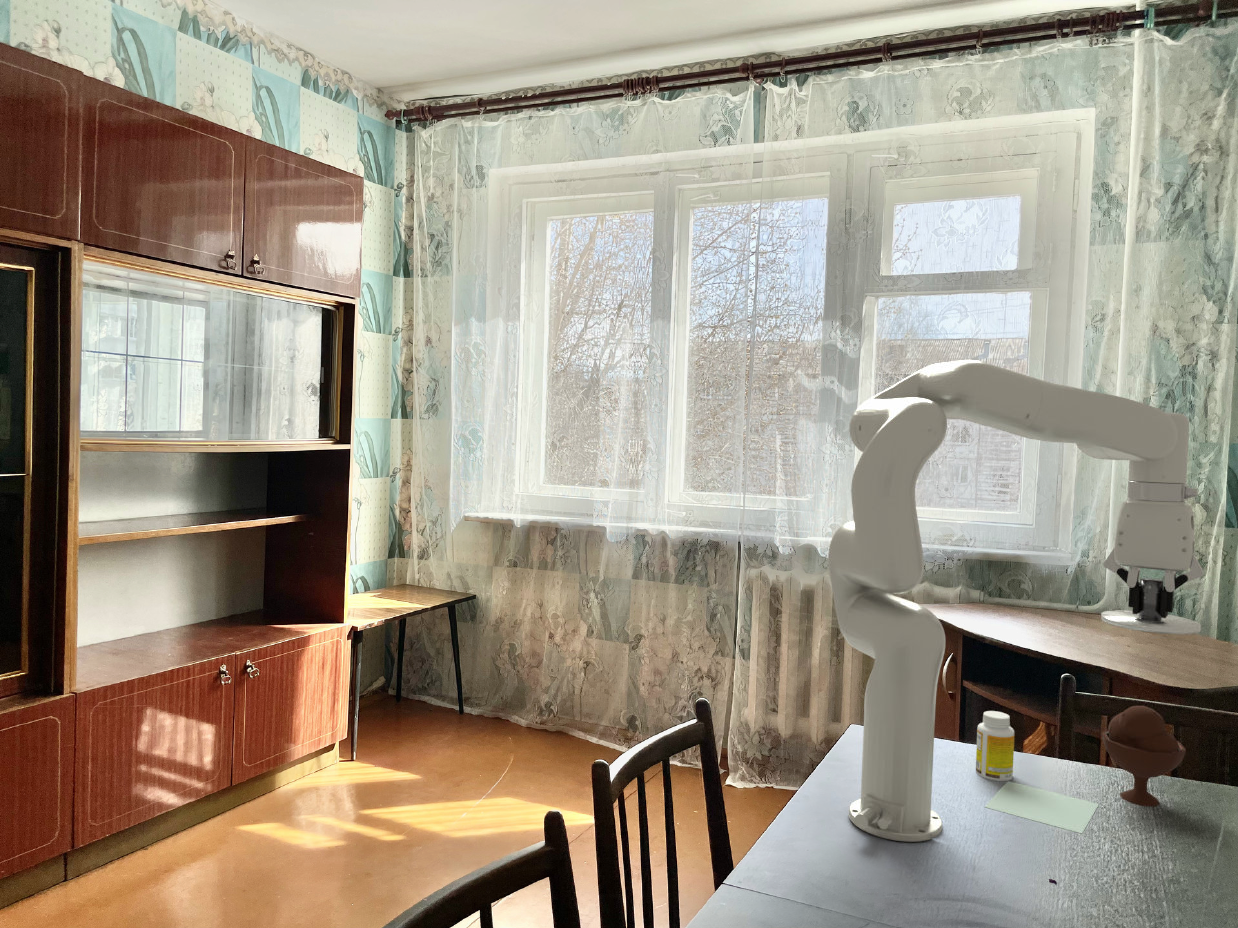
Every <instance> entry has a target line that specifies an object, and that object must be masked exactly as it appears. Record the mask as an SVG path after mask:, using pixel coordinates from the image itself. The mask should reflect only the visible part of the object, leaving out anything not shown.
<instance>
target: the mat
mask: <svg viewBox="0 0 1238 928" xmlns="http://www.w3.org/2000/svg"><path fill="white" fill-rule="evenodd" d="M1099 806H1100V804H1099V803H1097V802H1092V801H1089V800H1085V799H1081V798H1077V797H1072V796H1070V795H1069V796H1068V795H1065V794H1062V793H1057V792H1053V791H1049V790H1045V789H1041V788H1037V787H1033V786H1029V785H1025V784H1021V783H1017V782H1013V781H1010V780H1008V781H1005V783H1004V785H1003V786H1001V788H1000V789H999V790H998V791H997V792H996V793H995V795H993V796H992V797H991V799H990V800H989V801H988V802H987V803H986V804H985V805H984V808H985V809H990V810H992V811H997V812H1000V813H1003V814H1008V815H1012V816H1015V817H1020V818H1023V819H1025V820H1030V821H1034V822H1036V823H1041V824H1044V825H1048V826H1051V827H1055V828H1059V829H1061V830H1062V829H1063V830H1065V831H1066V830H1067V831H1070V832H1074V833H1077V834H1081V835H1082V834H1083V833H1084V832H1085V829H1086V828H1087V826H1088V824H1089V823H1090V821H1091V820H1092V817H1093V816H1094V813H1095V812H1096V810H1097V809H1098V807H1099Z"/></svg>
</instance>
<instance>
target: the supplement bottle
mask: <svg viewBox="0 0 1238 928" xmlns="http://www.w3.org/2000/svg"><path fill="white" fill-rule="evenodd" d="M1010 717H1011V716H1010V715H1009V714H1007V713H1004V712H1002V711H995V710H987V711H984V712H983V715H982V722H980V723H979V724H978V725H977V729H976V749H975V750H976V752H975V755H976V756H975V772H976V774H977V775H978V776H979V777H982V778H984V779H986V780H990V781H996V782H1007V781H1010V780H1012V779H1013V773H1014V755H1015V753H1014V751H1015V730H1014V728H1013V727H1011V725H1010V724H1011V722H1010V720H1011V718H1010Z"/></svg>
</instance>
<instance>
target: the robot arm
mask: <svg viewBox="0 0 1238 928" xmlns="http://www.w3.org/2000/svg"><path fill="white" fill-rule="evenodd" d="M947 420H961V421H967V422H971V423H974V424H977V425H981V426H984V427H990V428H992V429H996V430H999V431H1003V432H1006V433H1009V434H1012V435H1015V436H1019V437H1023V438H1026V439H1028V440H1036V441H1041V442H1048V443H1049V442H1051V443H1063V444H1065V443H1066V444H1075V445H1076V446H1077V448H1078V449H1079V450H1080V451H1081V452H1082V453H1083V454H1085V455H1087V456H1089V457H1092V458H1093V459H1099V460H1107V461H1108V460H1109V461H1129V462H1128V463H1129V464H1128V480H1127V500H1122V503H1121V505H1120V510H1119V514H1118V518H1117V523H1116V530H1115V537H1114V546H1113V549H1112V550H1111V552H1110V554H1109V555H1108V556H1107V558H1106V559H1105V561H1104V562H1103V567H1104V568H1106V569H1107V570H1110V572H1113V573H1114V574H1116V575H1117V576H1119V578H1121V580H1122V581H1124V582H1125V584H1126V585H1127V587H1128V588H1129V589H1128V608H1131V609H1132V611H1133V614H1138V613H1139V603H1140V581H1139V580H1140V575H1141V569H1146V570H1147V569H1148V570H1157V571H1164V585H1163V591H1162V592H1161V605H1160V617H1162V618H1166V617H1167V616H1168V615H1169V613H1173V612H1174V596H1175V595H1174V594H1175V591H1176V590H1177V589H1178V588H1180V587H1182V586H1183V585H1184V584H1186V583H1187V582H1191V581H1194V580H1197V579H1199V578H1202V577H1203V576H1204V575H1205V572H1204V569H1203V568H1202V566H1201V564H1200V563H1199V561H1198V559H1197V557H1196V555H1195V521H1194V513H1193V508H1192V505H1191V504H1186V501H1187V500H1188V499H1191V498H1198V488H1193V487H1189V486H1188V484H1187V476H1188V474H1187V473H1188V454H1189V437H1190V434H1189V432H1190V420H1189V418H1188V417H1187V416H1186V415H1185V414H1183V413H1180V412H1179V413H1178V412H1165V411H1164V410H1162V409H1160V408H1158V407H1155V406H1152V405H1149V404H1145V403H1142V402H1140V401H1136V400H1132V399H1130V398H1126V397H1122V396H1119V395H1113V394H1109V393H1108V394H1107V393H1103V392H1097V391H1093V390H1087V389H1084V388H1083V389H1082V388H1080V387H1074V386H1069V385H1065V384H1060V383H1059V384H1058V383H1055V382H1054V383H1053V382H1050V381H1046V380H1042V379H1039V378H1035V377H1033V376H1030V375H1027V374H1023V373H1020V372H1016V371H1013V370H1010V369H1006V368H1003V367H1001V366H998V365H994V364H991V363H987V362H984V361H982V360H981V361H980V360H974V359H973V360H972V359H965V360H964V359H963V360H956V361H948V362H941V363H940V362H939V363H934V364H930V365H928V366H926V367H924V368H921V369H919V370H918V371H916V372H914V373H912V374H911V375H909V376H907V377H906V378H904V379H902V380H901V381H899V382H897V383H896V384H893V385H892V386H890V387H888V388H886V389H884V390H883V391H881V392H879V393H877V394H876V395H874V396H872V397H870V398H869V399H867V400H866V401H864V402H863V403H862V404H860V405H859V406H858V407H857V409H855V411H854V412H853V414H852V416H851V419H850V422H849V428H848V430H849V436H850V439H851V441H852V444H853V445H854V447H856V449H858V451H860V452H861V453H862V454H861V456H860V458H859V459H858V461H857V464H856V467H855V468H854V472H853V474H852V478H851V485H850V486H851V488H850V493H851V494H850V495H851V505H852V506H851V507H852V519H853V520H850V521H848V522H845V523H844V524H842V525H841V526H840V527H839V528H838V529H837V530H836V531H835V533H834V534H833V536H832V538H831V540H830V544H829V546H828V547H829V548H828V554H827V559H828V560H827V563H828V569H829V570H828V571H829V578H830V583H831V588H832V594H833V595H832V597H833V602H834V606H835V607H834V608H835V613H836V618H837V619H836V620H837V622H838V623H837V624H838V627H839V630H840V632H841V635H842V636H843V639H844V640H845V642H847V643H848V644H849V646H851V647H852V648H853V649H856V650H857V651H859V652H861V653H863V654H865V655H867V656H868V657H871V658H872V659H874V664H873V666H872V670H871V672H870V675H869V677H868V680H867V683H866V686H865V692H864V693H865V694H864V701H863V703H864V705H863V710H864V713H863V735H862V736H863V737H862V762H861V763H862V764H861V784H860V785H861V787H860V788H861V789H860V798H858V799H857V800H855V801H853V802H851V804H850V805H849V808H848V818H849V819H850V821H851V822H852V823H853V824H854V825H855V826H856V827H858V828H859V829H860V830H862V831H864V832H866V833H867V834H869V835H873V836H875V837H879V838H883V839H886V840H892V841H897V842H906V843H907V842H911V843H912V842H913V843H914V842H924V841H929V840H933V839H934V838H936V837H938V836H939V835H940V834H941V833H942V830H943V820H942V818H941V817H940V816H939V814H938V813H936V812H935V811H934V810H932V791H933V790H932V788H933V769H934V750H935V749H934V745H935V744H934V742H935V724H936V723H935V722H936V721H935V720H936V702H937V701H936V700H937V690H938V689H937V688H938V681H939V677H940V676H939V675H940V671H941V667H942V664H943V660H944V656H945V652H946V651H945V650H946V634H945V630H944V627H943V625H942V623H941V621H940V619H939V618H938V617H937V616H936V615H935V614H934V613H933V612H932V611H931V610H930V609H928V608H926V606H925V607H924V605H921V604H919V603H916V602H914V601H911V600H909V599H906V598H903V597H900V596H896V595H899V594H906V593H908V592H911V591H913V590H914V589H915V588H917V587H918V586H919V585H920V584H921V581H922V580H923V576H924V572H925V559H924V551H923V545H922V538H921V531H920V526H919V525H920V524H919V520H918V519H919V518H918V514H917V513H918V512H917V503H916V485H917V481H918V478H919V476H920V473H921V472H922V469H923V467H924V466H925V464H926V463H927V462H928V460H929V459H930V458H931V457H932V456H933V455H934V454H935V453H936V451H937V450H938V449H939V448H940V446H941V445H942V444H943V442H944V439H945V437H946V434H947V430H948V421H947ZM1125 567H1129V568H1128V569H1127V568H1125ZM1189 569H1190V570H1189ZM1187 570H1189V571H1187ZM1177 572H1184V573H1181V574H1180V575H1178V576H1177Z"/></svg>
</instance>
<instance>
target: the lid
mask: <svg viewBox="0 0 1238 928" xmlns="http://www.w3.org/2000/svg"><path fill="white" fill-rule="evenodd" d="M1139 580H1140V581H1139V583H1140V603H1139V613H1138V614H1133V610H1127V609H1126V610H1125V609H1123V610H1122V609H1121V610H1117V609H1116V610H1106V611H1103V612H1101V614H1100V616H1101V617H1100V618H1101V619H1100V621H1102V622H1103V623H1106V624H1109V625H1111V626H1115V627H1119V628H1122V629H1128V630H1133V631H1138V632H1139V631H1140V632H1148V633H1154V634H1155V633H1156V634H1166V635H1167V634H1168V635H1191V634H1192V635H1194V634H1199V633H1201V629H1202V624H1201V623H1200V622H1198V621H1196V620H1193V619H1190V618H1185V617H1181V616H1178V615H1172V614H1168V616H1167V617H1166V618H1162V617H1160V605H1161V592H1162V591H1163V587H1164V583H1165V580H1162V579H1159V578H1158V579H1157V578H1151V577H1150V578H1147V577H1143V578H1139Z"/></svg>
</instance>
